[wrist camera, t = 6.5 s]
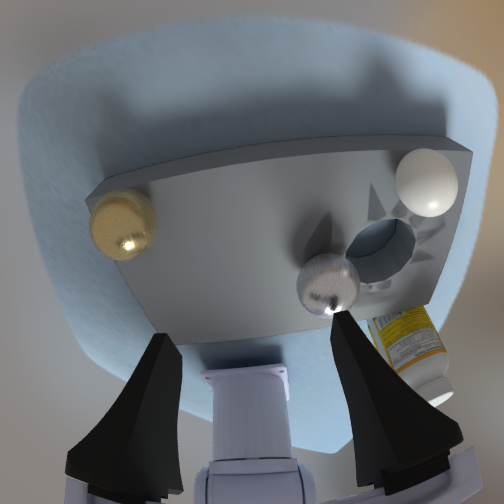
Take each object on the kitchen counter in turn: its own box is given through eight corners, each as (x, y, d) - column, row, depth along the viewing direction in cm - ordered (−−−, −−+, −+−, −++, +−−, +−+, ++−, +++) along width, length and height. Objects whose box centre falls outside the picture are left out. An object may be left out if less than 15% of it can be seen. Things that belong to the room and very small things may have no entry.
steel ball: (345, 336, 13) (287, 324, 12) (337, 293, 15) (286, 280, 15) (380, 291, 11) (315, 274, 11) (363, 250, 14) (308, 233, 13)
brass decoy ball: (173, 228, 12) (159, 271, 10) (119, 238, 13) (98, 279, 10) (153, 169, 11) (129, 203, 8) (96, 186, 11) (65, 221, 8)
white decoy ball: (429, 194, 12) (461, 226, 9) (381, 198, 12) (411, 234, 9) (436, 140, 10) (476, 164, 7) (385, 139, 10) (423, 164, 8)
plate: (415, 281, 19) (428, 303, 17) (171, 319, 20) (166, 345, 18) (446, 137, 12) (472, 151, 10) (104, 179, 13) (84, 200, 11)
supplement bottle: (377, 290, 20) (423, 399, 12) (426, 286, 20) (474, 378, 12) (357, 331, 23) (386, 426, 15) (403, 325, 23) (436, 409, 16)
